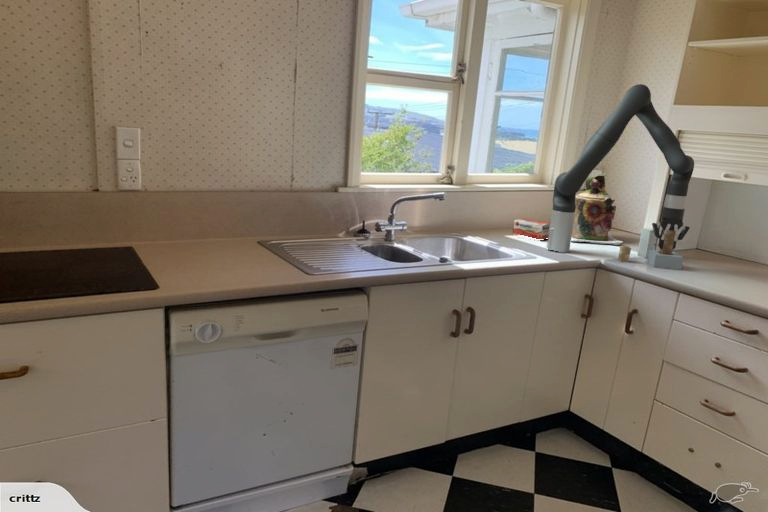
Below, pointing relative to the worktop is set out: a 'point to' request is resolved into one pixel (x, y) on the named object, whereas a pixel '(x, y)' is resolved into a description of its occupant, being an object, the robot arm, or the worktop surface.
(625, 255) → the short pin
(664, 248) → the long pin
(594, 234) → the cookie jar
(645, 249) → the skincare box
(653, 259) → the socket block
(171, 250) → the worktop surface
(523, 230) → the medicine box
